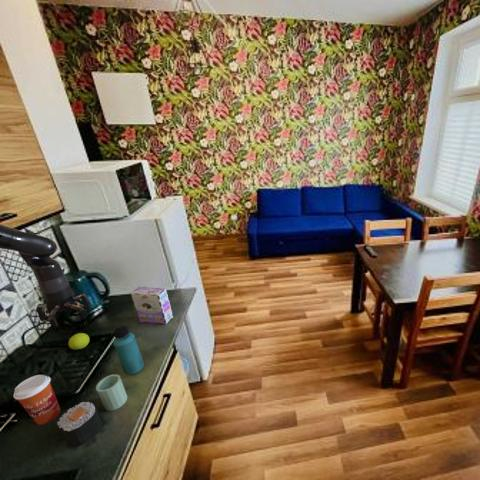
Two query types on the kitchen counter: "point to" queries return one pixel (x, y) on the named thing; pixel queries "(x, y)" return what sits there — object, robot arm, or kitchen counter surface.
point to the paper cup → (38, 398)
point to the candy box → (152, 305)
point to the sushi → (80, 423)
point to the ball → (78, 341)
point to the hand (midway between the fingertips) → (71, 322)
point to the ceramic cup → (111, 392)
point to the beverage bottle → (127, 350)
